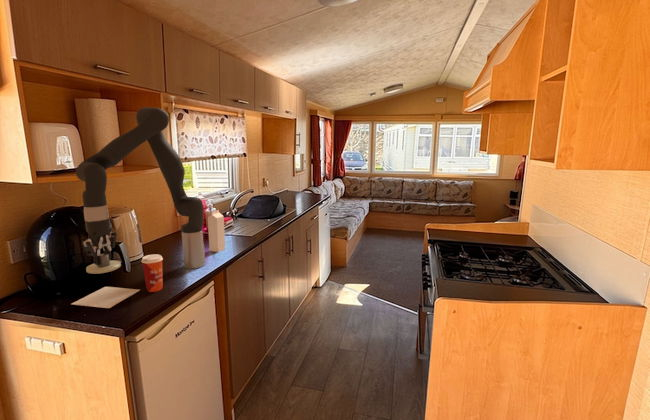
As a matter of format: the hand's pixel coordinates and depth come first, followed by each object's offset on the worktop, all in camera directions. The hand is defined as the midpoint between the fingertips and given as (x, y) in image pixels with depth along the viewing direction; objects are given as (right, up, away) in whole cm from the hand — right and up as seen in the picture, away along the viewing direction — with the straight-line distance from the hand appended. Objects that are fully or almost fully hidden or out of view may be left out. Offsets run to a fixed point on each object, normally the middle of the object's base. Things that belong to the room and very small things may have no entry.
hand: (103, 262), depth 131 cm
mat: (0, -14, +3) cm, 14 cm away
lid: (0, -2, 0) cm, 2 cm away
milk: (+24, -3, +62) cm, 67 cm away
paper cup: (+15, -13, +10) cm, 22 cm away
